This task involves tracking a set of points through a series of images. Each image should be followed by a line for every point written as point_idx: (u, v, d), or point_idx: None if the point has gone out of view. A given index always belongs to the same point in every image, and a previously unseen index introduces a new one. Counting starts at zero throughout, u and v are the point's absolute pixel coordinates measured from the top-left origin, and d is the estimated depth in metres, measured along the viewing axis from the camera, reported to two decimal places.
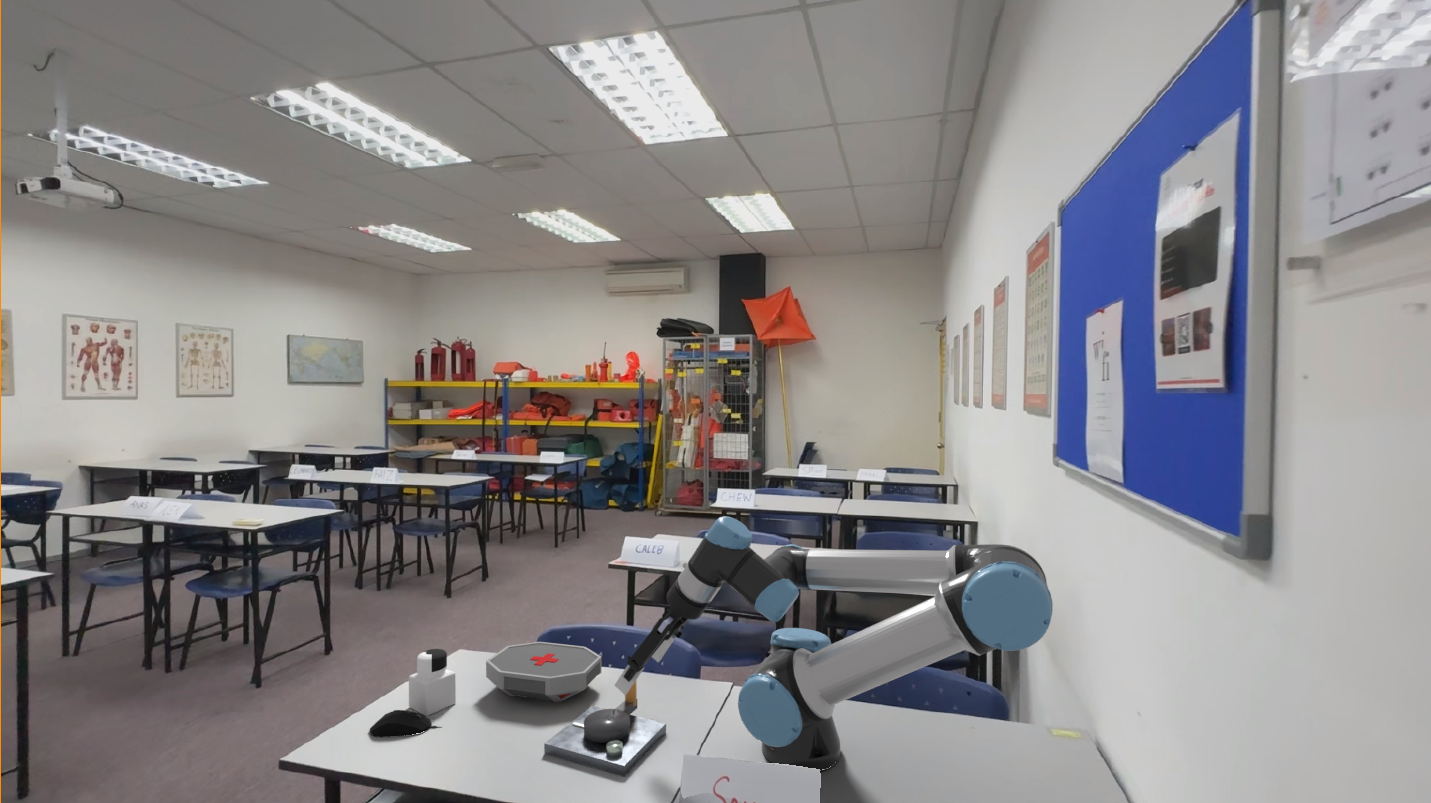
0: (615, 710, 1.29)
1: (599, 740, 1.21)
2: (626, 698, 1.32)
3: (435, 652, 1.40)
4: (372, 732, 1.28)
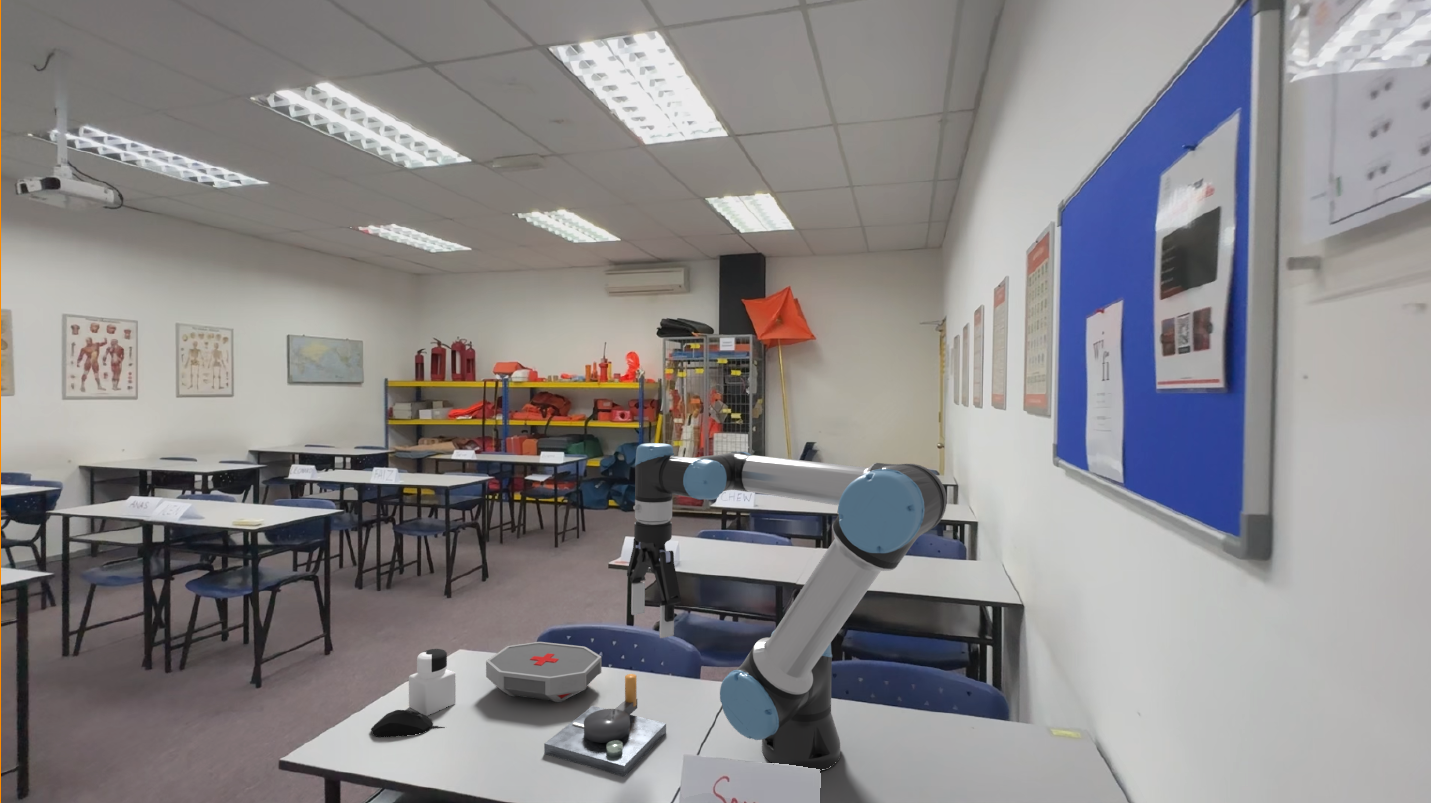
0: (615, 710, 1.29)
1: (599, 740, 1.21)
2: (626, 698, 1.32)
3: (435, 652, 1.40)
4: (373, 732, 1.28)
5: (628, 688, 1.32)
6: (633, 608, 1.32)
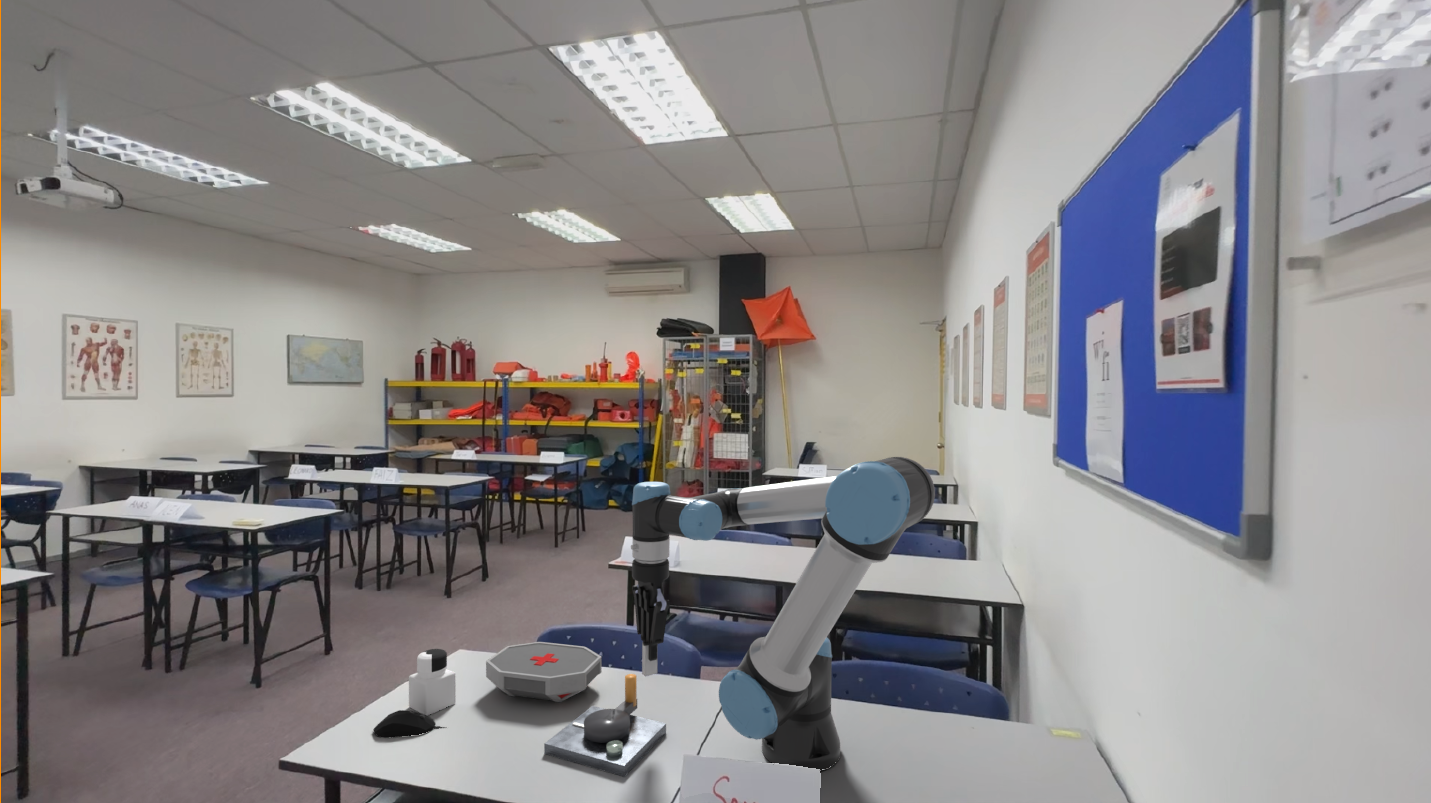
0: (615, 710, 1.29)
1: (599, 740, 1.21)
2: (626, 698, 1.32)
3: (435, 651, 1.40)
4: (376, 732, 1.28)
5: (628, 688, 1.32)
6: None
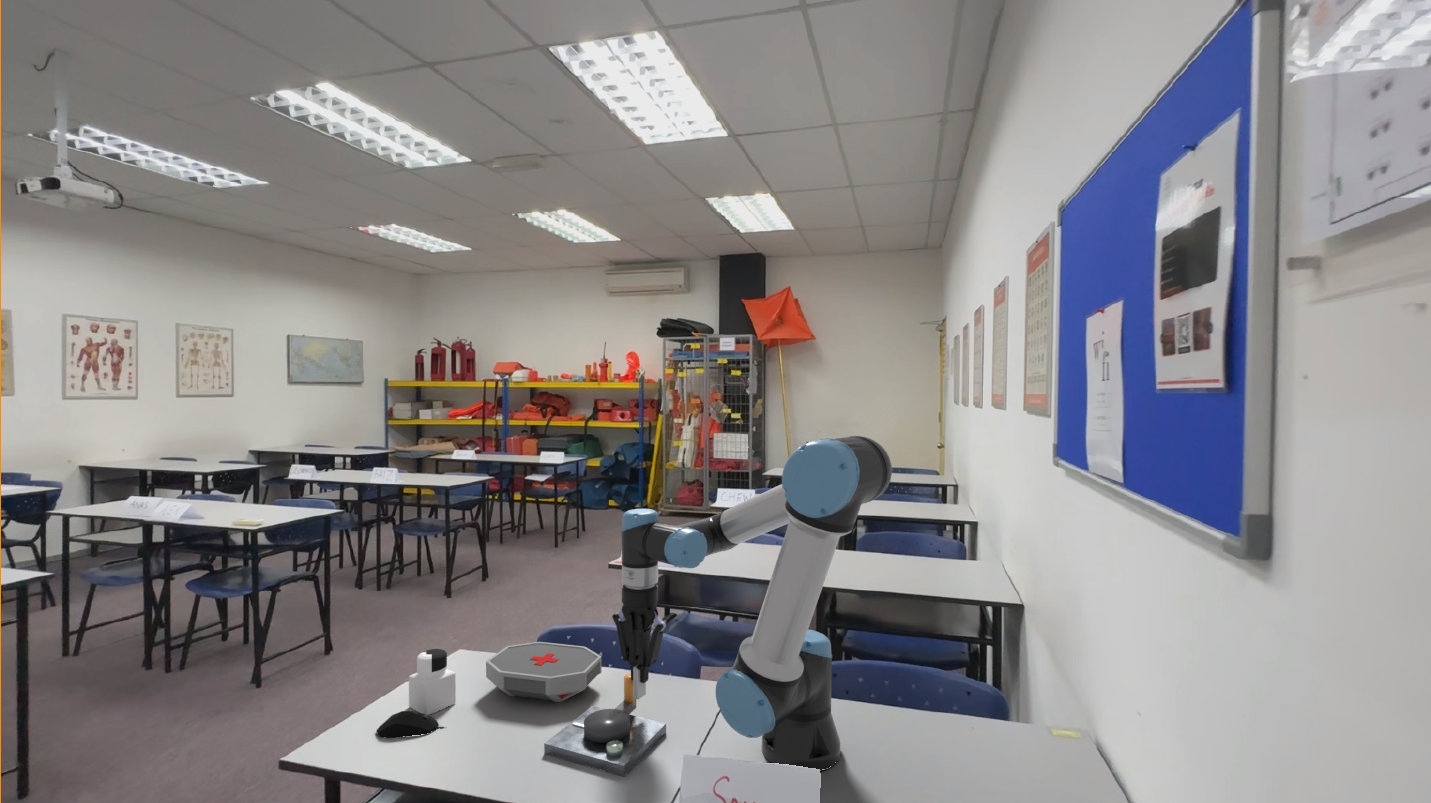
0: (615, 710, 1.29)
1: (600, 740, 1.21)
2: (626, 698, 1.32)
3: (435, 652, 1.40)
4: (379, 733, 1.28)
5: (627, 687, 1.32)
6: (636, 692, 1.31)
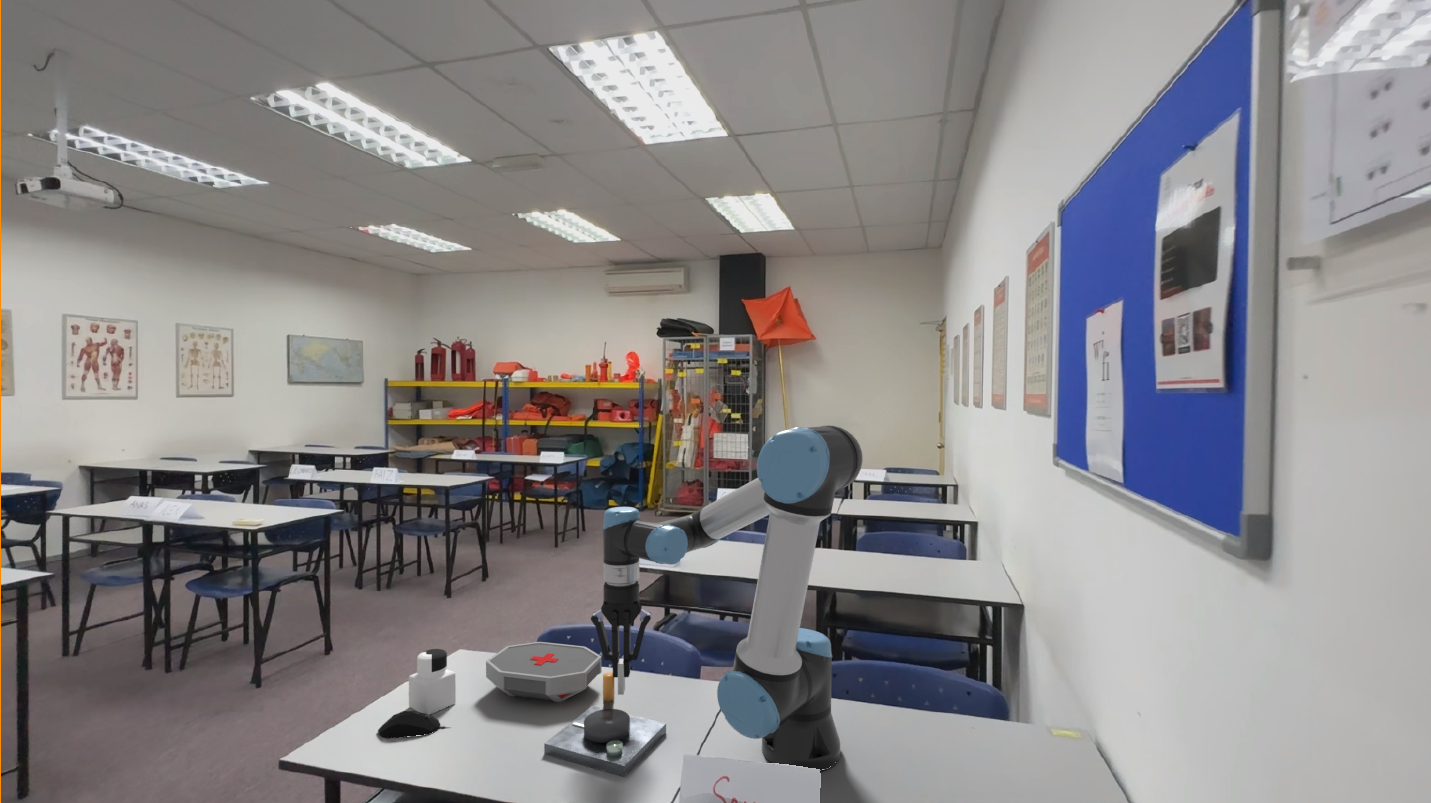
0: (605, 710, 1.29)
1: (612, 739, 1.21)
2: (607, 697, 1.33)
3: (435, 652, 1.40)
4: (381, 733, 1.27)
5: (609, 686, 1.33)
6: (621, 687, 1.33)
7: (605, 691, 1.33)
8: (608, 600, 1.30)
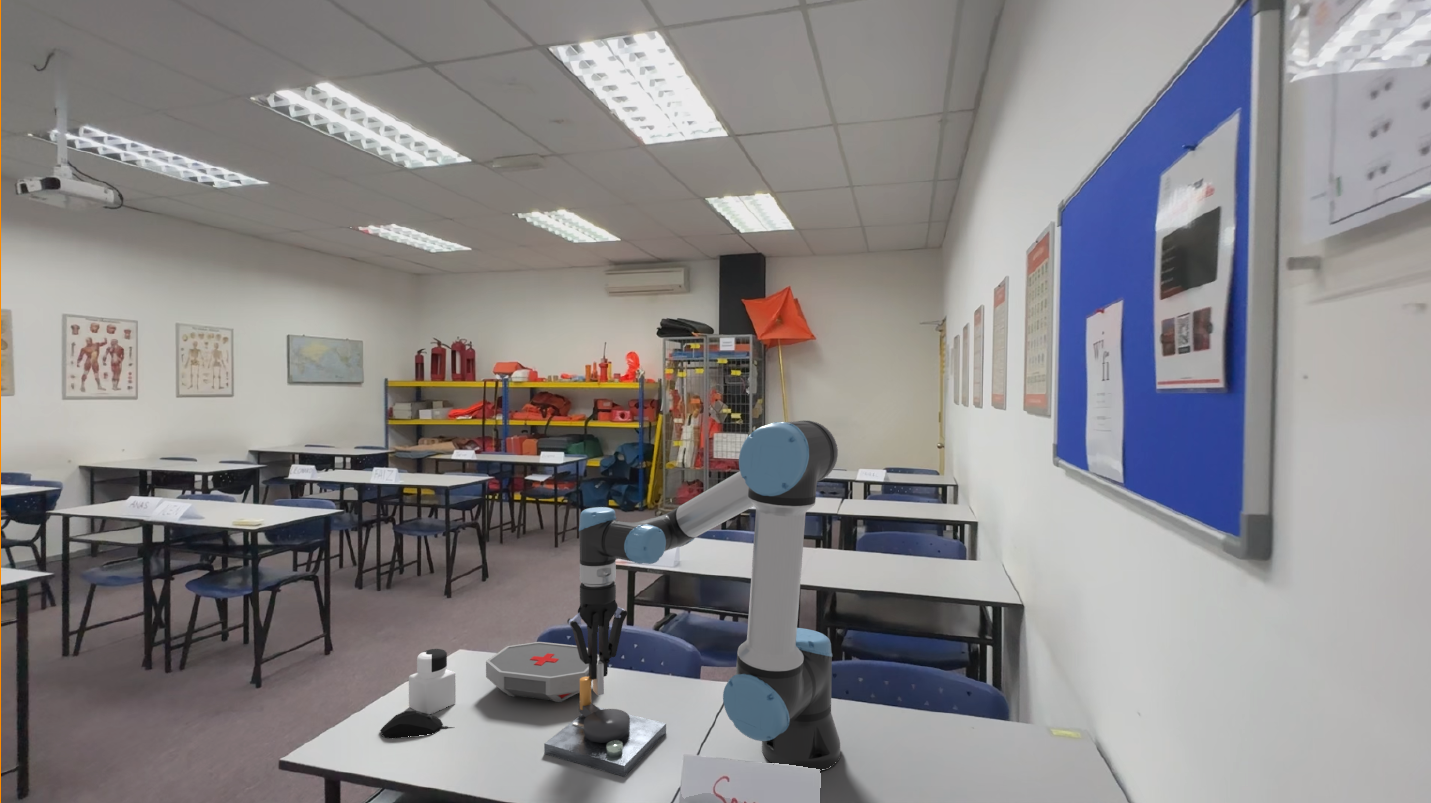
0: (594, 713, 1.28)
1: (623, 735, 1.22)
2: (587, 701, 1.31)
3: (435, 652, 1.40)
4: (383, 733, 1.27)
5: (589, 690, 1.31)
6: (600, 687, 1.32)
7: (584, 696, 1.31)
8: (592, 602, 1.29)
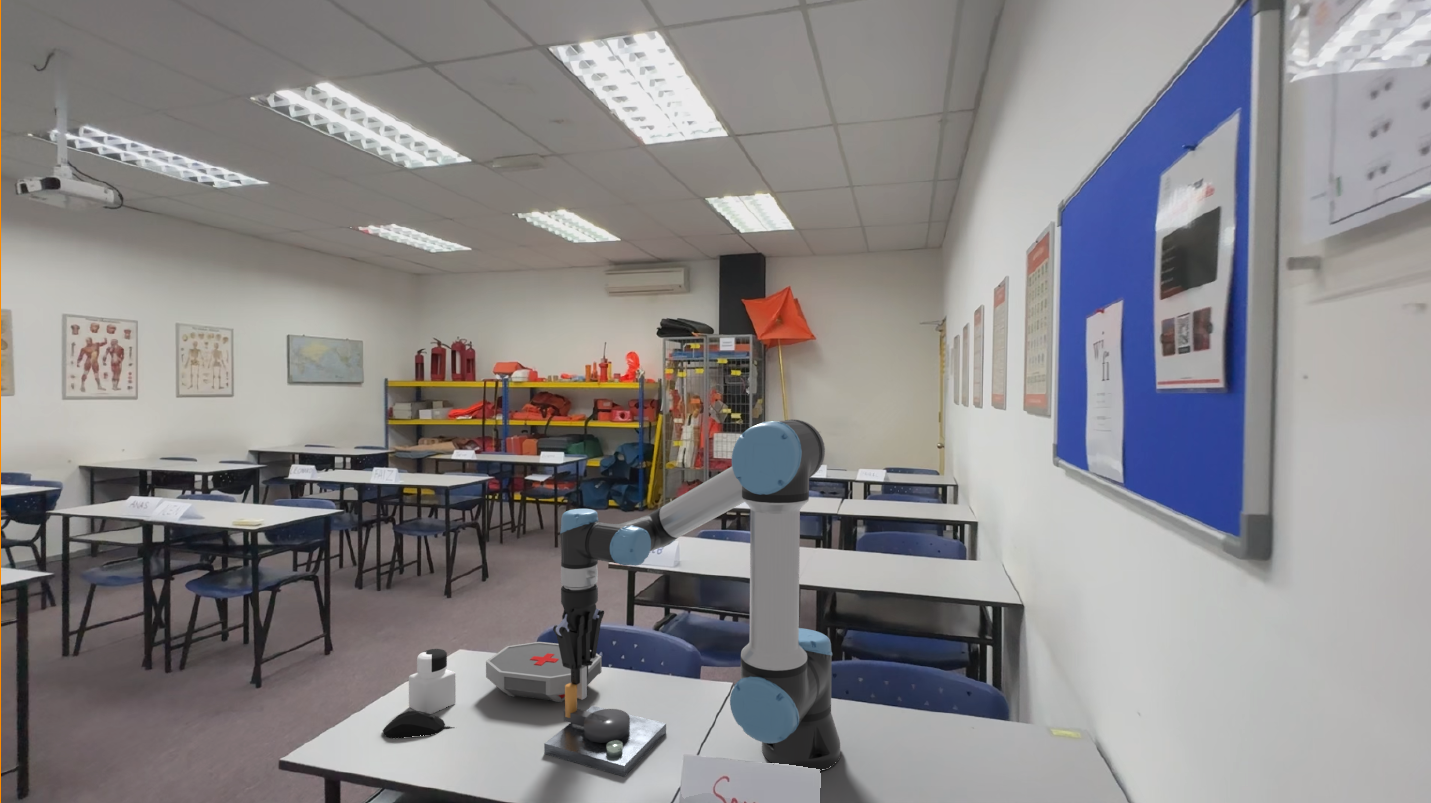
0: (589, 717, 1.26)
1: (628, 730, 1.24)
2: (575, 708, 1.28)
3: (435, 652, 1.40)
4: (385, 733, 1.27)
5: (576, 695, 1.29)
6: None
7: (572, 702, 1.28)
8: (582, 605, 1.27)
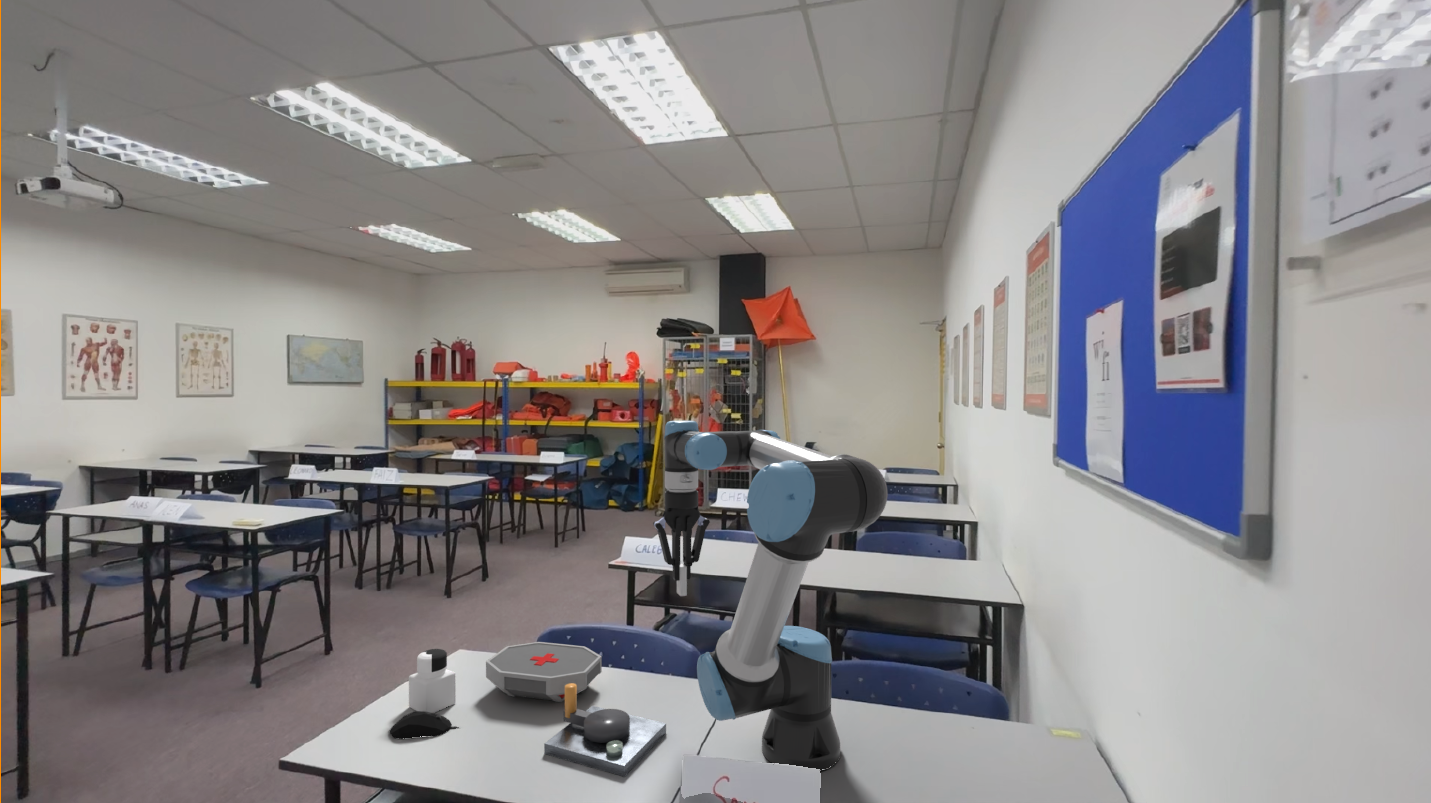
0: (589, 717, 1.26)
1: (628, 730, 1.24)
2: (574, 708, 1.28)
3: (435, 652, 1.40)
4: (392, 734, 1.27)
5: (576, 696, 1.29)
6: (683, 589, 1.40)
7: (572, 703, 1.28)
8: (675, 506, 1.38)
